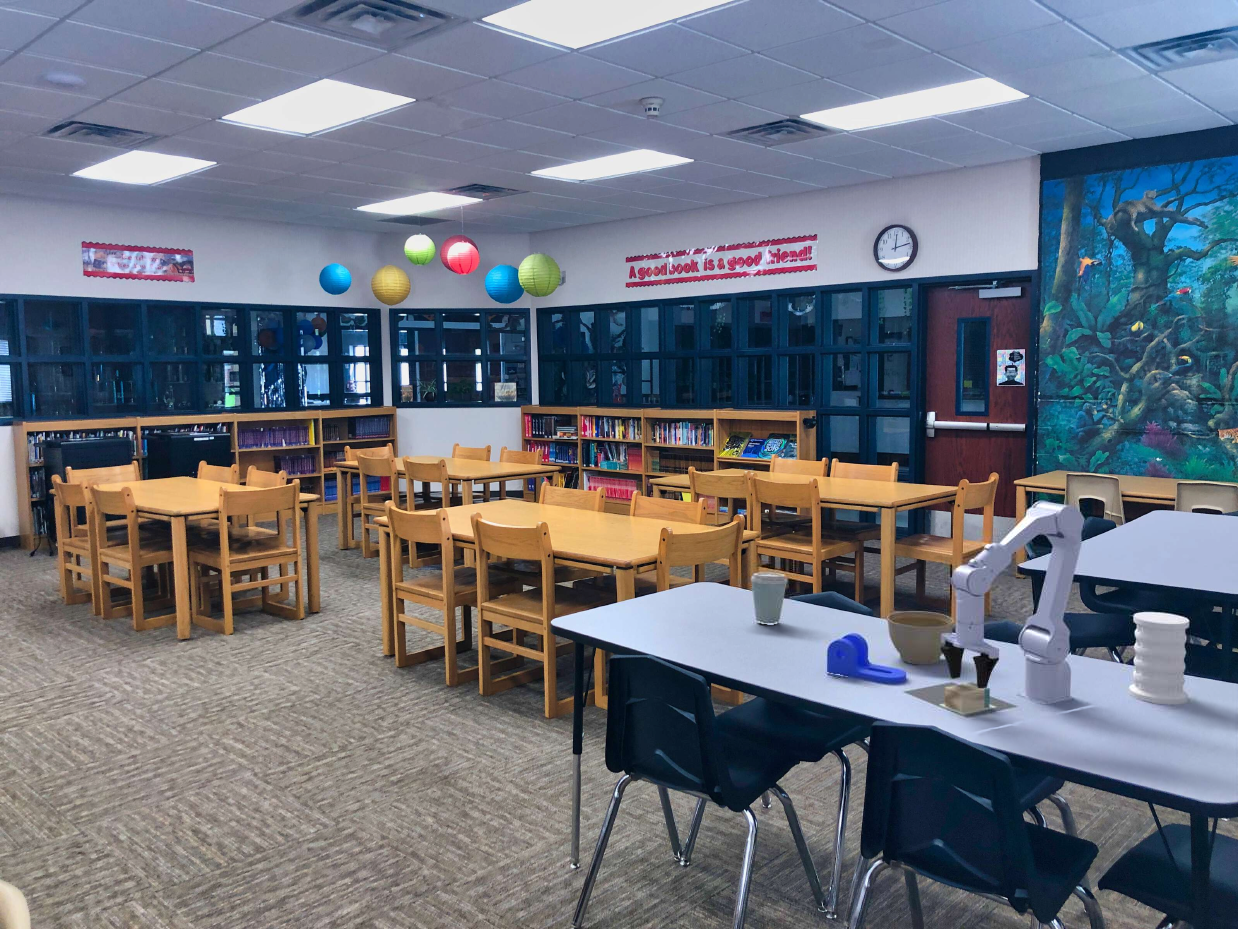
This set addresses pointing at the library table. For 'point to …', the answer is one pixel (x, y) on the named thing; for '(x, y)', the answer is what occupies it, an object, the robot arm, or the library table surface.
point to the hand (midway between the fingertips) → (968, 682)
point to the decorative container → (1159, 658)
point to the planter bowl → (919, 635)
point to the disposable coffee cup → (768, 596)
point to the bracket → (859, 661)
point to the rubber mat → (938, 698)
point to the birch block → (966, 697)
